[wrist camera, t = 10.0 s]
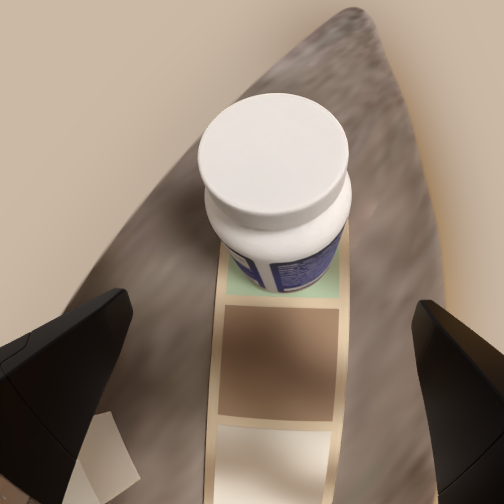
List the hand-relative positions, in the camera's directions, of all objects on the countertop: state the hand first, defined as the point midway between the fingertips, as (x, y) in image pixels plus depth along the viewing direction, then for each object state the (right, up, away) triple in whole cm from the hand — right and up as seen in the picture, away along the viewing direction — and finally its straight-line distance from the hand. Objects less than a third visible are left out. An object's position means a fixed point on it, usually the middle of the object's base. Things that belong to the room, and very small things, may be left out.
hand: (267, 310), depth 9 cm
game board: (+1, -5, +8) cm, 9 cm away
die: (-11, -12, +7) cm, 18 cm away
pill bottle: (+1, +2, +10) cm, 10 cm away
